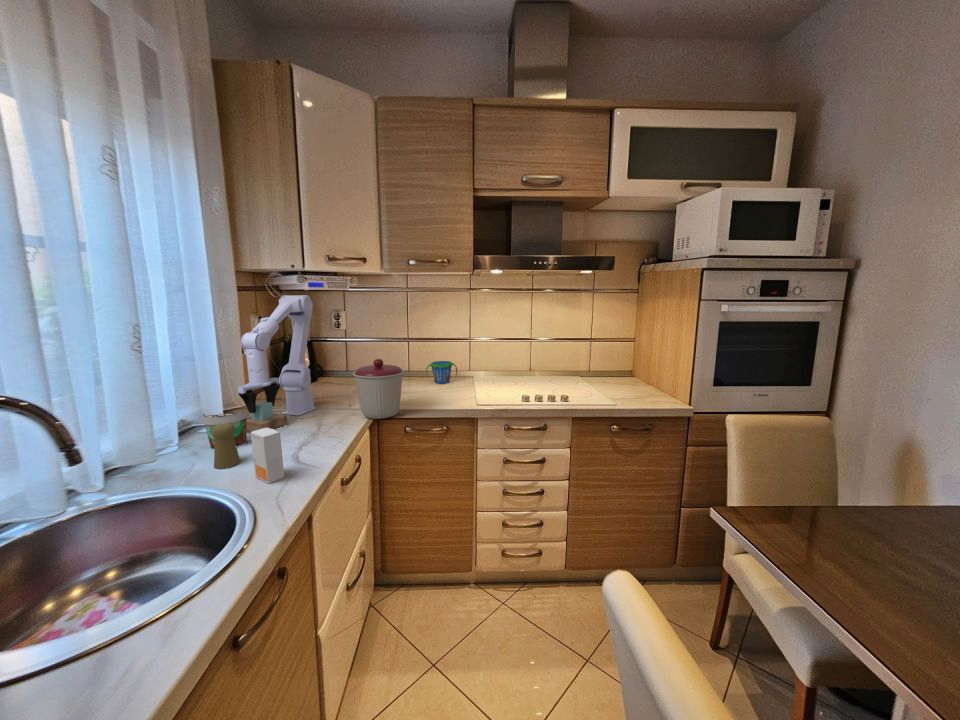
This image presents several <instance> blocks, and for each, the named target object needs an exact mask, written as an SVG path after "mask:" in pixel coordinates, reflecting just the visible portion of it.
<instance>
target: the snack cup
mask: <svg viewBox="0 0 960 720" xmlns="http://www.w3.org/2000/svg"><path fill="white" fill-rule="evenodd" d="M453 366H454V367H455V376H456V377H457V376H458V366H457V365H456V364H455V363H454V362H452V361H448V360H437V361H432V362H430V363H429V364H428V365H427V366H426V370H425V375H426V377H428V375H429V374H428V368H429V367H431V370H432V375H433V381H434V383H435V384H437V385H444V384H448V383H450V382H451V381H450V380H451V376H452V375H451V373H452V367H453Z"/></svg>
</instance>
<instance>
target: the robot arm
mask: <svg viewBox="0 0 960 720" xmlns="http://www.w3.org/2000/svg"><path fill="white" fill-rule="evenodd" d="M313 308H314V303H313V301H312V299H311V297H310V295H308V294H303V295H300V294H298V295H293V294H292V295H289V294H283V295H282V296H281V297H280V298H279V299H278V305H277V306H276V307H275V309H274V311H273V312H272V313H271V315H270V316H268V317H262V318H260V321H259V322H258V323H257V325H256V326H254V327H253V328H252V330H251V331H250V332H245V334H242V336H241V339H240V341H239V344H240V347H241V349H243V354H244V355H245V356H246V366H247V373H248V374H247V375H248V383H246V384H243V385H240V386H237V391H238V396H239V398H241V399H242V401H243V402H244V404H245V406H246V408H247V409H246V410H247V412H248V414H251V413H256V403H257V396H258V392H254V391H255V390H258V389H261V388H262V389H263V391H264V394H265V398H266V402H272V407H273V408H274V407H275V402H276V397H277V394H278V393H279V390H280V389H281V388H282V390H283V391H284V392H285V402H286V410H284V411H282V412H281V415H289V416H302V415H304V414H306V413H309V412H311V411H315V410H316V409H317V408H316V407H315V403H314V393H313V390H312V389H311V388H310V385H311V382H312V381H311V380H312V378H311V369H310V368H309V367H308V366H307V365H305V362H306V354H307V346H308V341H309V340H308V339H309V330H310V324H311V319H312V315H313ZM286 317H289V319H291V320H292V321H293V322H294V324H293V330H292V338H291V345H290V352H289V359H288V363H287V364H285V365H284V366H283V367H281V368H282V369H281V372H280V375H279V377H269V368H268V367H269V366H268V357H267V349H269V347H270V345H271V341H272V337H273V336H274V335H275V334H276V333H277V332H278V330H279V328H280V325H279V324H280V323H281V322H282V321H283V320H284V319H285V318H286ZM280 387H281V388H280Z"/></svg>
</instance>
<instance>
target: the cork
mask: <svg viewBox="0 0 960 720" xmlns="http://www.w3.org/2000/svg"><path fill="white" fill-rule="evenodd" d="M234 433H235V427H234V425H233V424H230V423H224V424H219V425H216V426H214V427H213V428H212V436H213V437H214V438H215V449H214V450H213V451H214V453H213V454H214V457H213V459H214V460H213V468H214V469H216V470H225V469H226V468H227V469H231V468H233V467H236V466H238V465H240V464H239V463H241V459H240V456H239V451H238V448H237V447H238V446H237V447H236V444H235V440H234V437H233V435H234ZM227 469H226V470H227Z"/></svg>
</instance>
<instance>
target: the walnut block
mask: <svg viewBox="0 0 960 720" xmlns="http://www.w3.org/2000/svg"><path fill="white" fill-rule="evenodd" d="M285 425H287V426H288V418H287V414H279V413H273V417H272V418H269V419H267V420H264V421H259V420H252V417H251V416H249V417H247V434H251V432H252V431H256V430H259V429H263V428H270V429H274V430H275V429H277V428H280V427H282V428H284V427H283V426H285ZM285 427H286V426H285ZM280 429H281V428H280ZM277 430H278V429H277Z"/></svg>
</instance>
